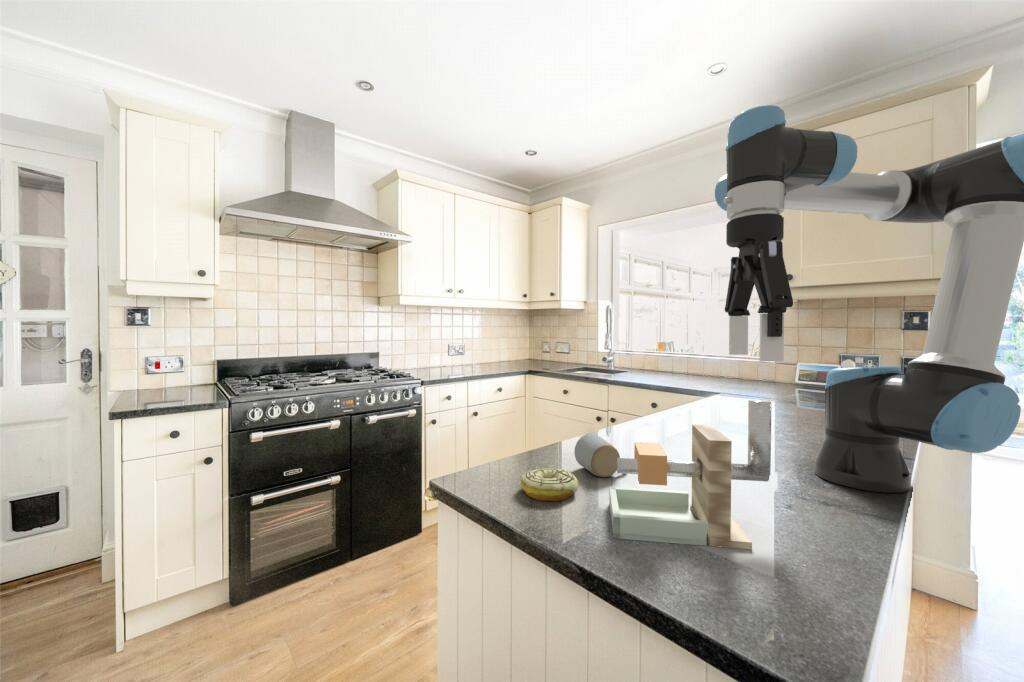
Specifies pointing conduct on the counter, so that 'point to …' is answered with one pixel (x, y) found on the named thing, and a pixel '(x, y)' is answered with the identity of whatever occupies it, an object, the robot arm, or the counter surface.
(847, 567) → the counter surface
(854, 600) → the counter surface
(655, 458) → the block
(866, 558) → the counter surface
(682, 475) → the grey l-shaped bar
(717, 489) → the bracket
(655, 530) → the tray
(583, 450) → the ceramic mug
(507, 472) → the counter surface
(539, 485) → the decorated donut
